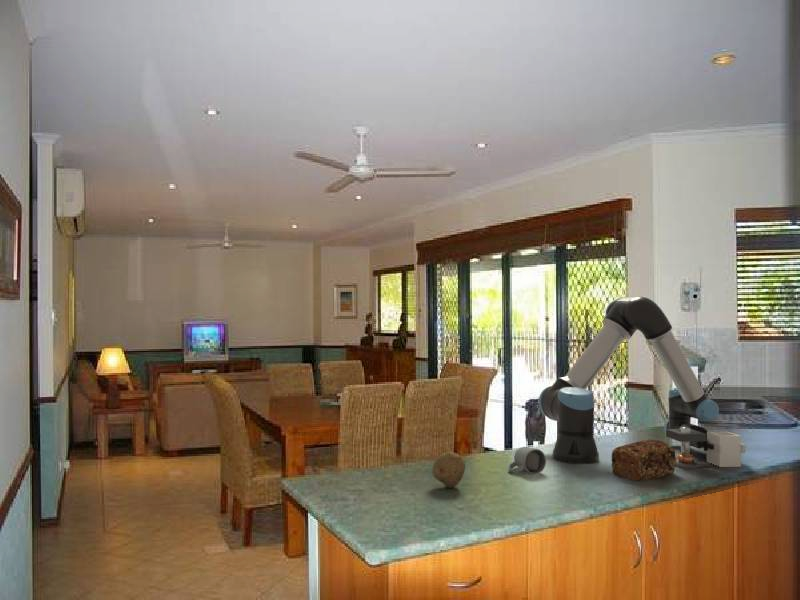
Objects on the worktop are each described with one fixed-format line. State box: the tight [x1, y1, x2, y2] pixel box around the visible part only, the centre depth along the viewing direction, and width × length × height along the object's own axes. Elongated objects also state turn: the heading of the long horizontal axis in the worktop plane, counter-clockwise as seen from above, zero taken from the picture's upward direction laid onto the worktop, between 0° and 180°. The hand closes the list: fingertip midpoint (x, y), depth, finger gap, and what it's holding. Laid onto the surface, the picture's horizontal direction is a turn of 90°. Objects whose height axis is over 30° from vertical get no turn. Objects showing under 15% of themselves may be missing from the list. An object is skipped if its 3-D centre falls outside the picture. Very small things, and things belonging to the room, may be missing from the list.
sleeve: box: [706, 431, 742, 468], centre depth 222 cm, size 7×7×10 cm
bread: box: [611, 439, 677, 482], centre depth 207 cm, size 19×11×10 cm, turn 123°
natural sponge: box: [432, 451, 466, 489], centre depth 190 cm, size 9×9×10 cm
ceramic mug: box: [507, 446, 547, 475], centre depth 209 cm, size 11×8×8 cm
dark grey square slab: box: [665, 429, 706, 443], centre depth 222 cm, size 9×9×2 cm
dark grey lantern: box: [674, 427, 710, 470], centre depth 222 cm, size 10×10×12 cm
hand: (732, 449), depth 218 cm, fingers closed on sleeve, 7 cm apart
